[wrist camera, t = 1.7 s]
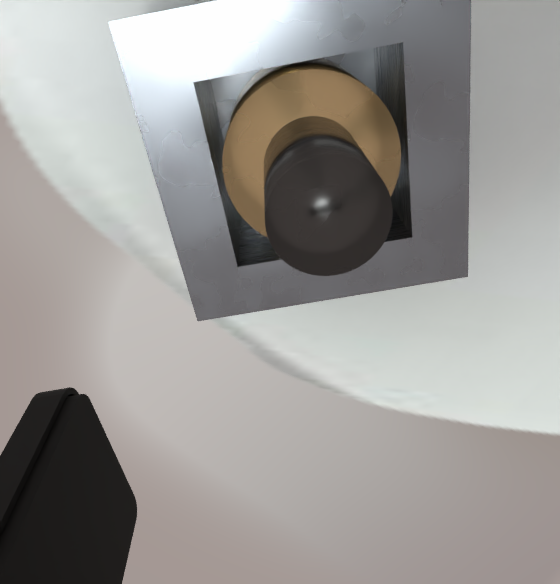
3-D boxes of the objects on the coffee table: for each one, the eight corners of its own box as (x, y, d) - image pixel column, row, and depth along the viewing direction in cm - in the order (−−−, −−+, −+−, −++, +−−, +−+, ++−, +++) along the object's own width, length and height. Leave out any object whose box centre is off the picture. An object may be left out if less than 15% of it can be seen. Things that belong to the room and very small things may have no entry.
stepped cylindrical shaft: (367, 42, 24) (446, 70, 14) (378, 190, 28) (448, 300, 18) (214, 71, 25) (182, 120, 14) (245, 213, 28) (237, 334, 18)
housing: (417, -37, 24) (471, -51, 18) (425, 221, 30) (467, 276, 24) (145, 17, 24) (108, 21, 18) (209, 258, 31) (197, 321, 25)
